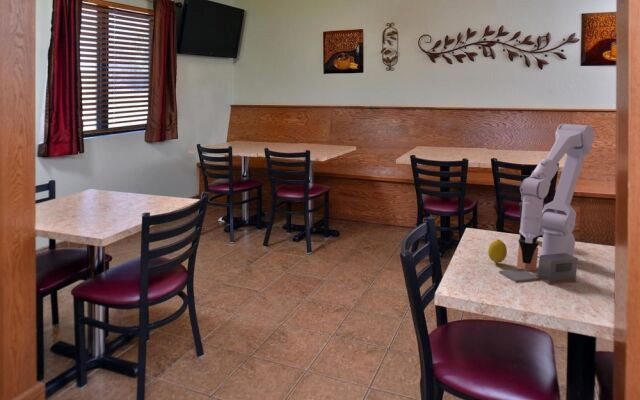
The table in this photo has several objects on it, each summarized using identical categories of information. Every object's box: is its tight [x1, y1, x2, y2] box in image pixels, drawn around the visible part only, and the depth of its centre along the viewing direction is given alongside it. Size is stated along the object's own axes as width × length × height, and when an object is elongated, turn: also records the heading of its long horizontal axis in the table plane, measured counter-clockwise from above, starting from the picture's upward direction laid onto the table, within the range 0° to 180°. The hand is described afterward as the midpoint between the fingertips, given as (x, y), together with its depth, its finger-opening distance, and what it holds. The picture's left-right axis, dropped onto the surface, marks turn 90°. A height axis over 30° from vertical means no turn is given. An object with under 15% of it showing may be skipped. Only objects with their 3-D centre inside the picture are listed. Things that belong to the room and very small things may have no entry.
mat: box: [498, 268, 540, 283], centre depth 152 cm, size 8×8×1 cm
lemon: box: [487, 239, 508, 264], centre depth 162 cm, size 6×6×8 cm
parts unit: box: [536, 253, 579, 285], centre depth 149 cm, size 9×6×7 cm, turn 105°
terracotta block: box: [516, 244, 539, 271], centre depth 159 cm, size 4×4×7 cm
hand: (527, 259), depth 159 cm, fingers open, 7 cm apart
